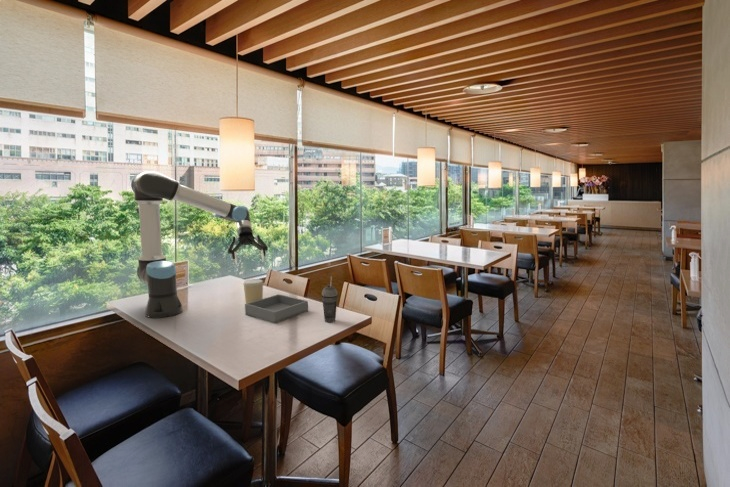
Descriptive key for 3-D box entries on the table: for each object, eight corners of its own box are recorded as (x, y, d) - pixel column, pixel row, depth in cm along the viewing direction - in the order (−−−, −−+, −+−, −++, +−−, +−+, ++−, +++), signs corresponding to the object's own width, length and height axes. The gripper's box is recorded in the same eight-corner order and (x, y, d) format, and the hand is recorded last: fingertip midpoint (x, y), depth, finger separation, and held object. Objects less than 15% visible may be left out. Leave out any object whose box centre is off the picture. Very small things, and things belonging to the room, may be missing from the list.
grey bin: (275, 323, 160) (274, 312, 159) (245, 314, 171) (244, 304, 171) (308, 311, 176) (307, 301, 175) (278, 303, 188) (278, 294, 187)
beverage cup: (329, 317, 168) (329, 273, 165) (341, 320, 164) (341, 275, 161) (318, 321, 163) (317, 276, 160) (330, 325, 158) (329, 278, 155)
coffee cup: (266, 302, 190) (265, 279, 189) (259, 307, 181) (258, 283, 179) (248, 301, 191) (247, 278, 190) (241, 307, 182) (240, 283, 180)
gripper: (267, 233, 213) (273, 264, 201) (220, 236, 202) (224, 268, 191) (268, 224, 207) (275, 255, 196) (220, 227, 197) (224, 260, 186)
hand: (250, 262), depth 193 cm, fingers open, 13 cm apart
